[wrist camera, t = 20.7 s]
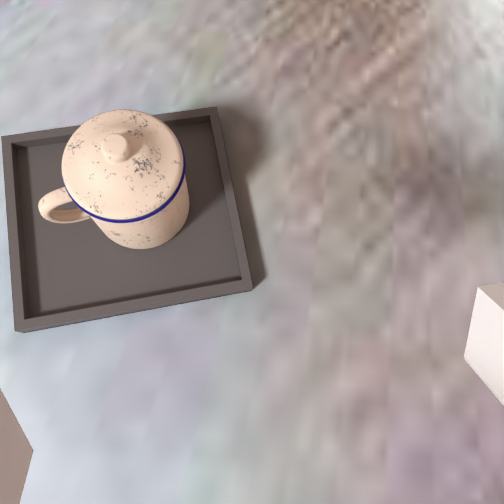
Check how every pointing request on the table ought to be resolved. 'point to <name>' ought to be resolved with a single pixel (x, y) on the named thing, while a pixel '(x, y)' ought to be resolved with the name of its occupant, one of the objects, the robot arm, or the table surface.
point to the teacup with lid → (123, 179)
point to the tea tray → (109, 252)
